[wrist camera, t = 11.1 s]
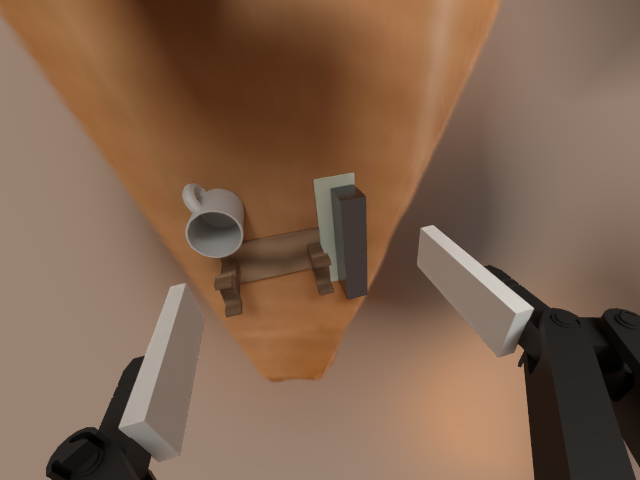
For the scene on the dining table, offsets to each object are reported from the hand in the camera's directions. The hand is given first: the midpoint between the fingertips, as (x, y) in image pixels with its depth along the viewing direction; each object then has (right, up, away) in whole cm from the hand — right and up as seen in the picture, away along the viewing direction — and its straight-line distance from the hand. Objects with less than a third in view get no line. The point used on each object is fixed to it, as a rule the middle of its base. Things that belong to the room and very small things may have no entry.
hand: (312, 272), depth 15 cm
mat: (+4, +3, +35) cm, 36 cm away
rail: (+5, +3, +35) cm, 36 cm away
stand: (-8, -1, +34) cm, 35 cm away
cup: (-16, +8, +27) cm, 33 cm away
